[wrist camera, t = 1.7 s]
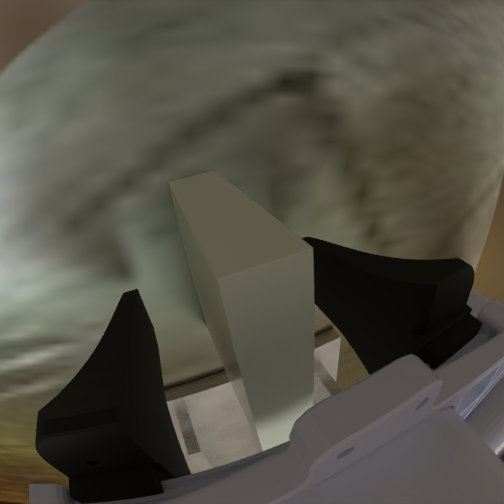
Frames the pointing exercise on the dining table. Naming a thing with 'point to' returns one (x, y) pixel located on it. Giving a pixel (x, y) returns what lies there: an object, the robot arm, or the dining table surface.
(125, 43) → the dining table surface
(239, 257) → the grey rectangular block
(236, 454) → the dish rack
